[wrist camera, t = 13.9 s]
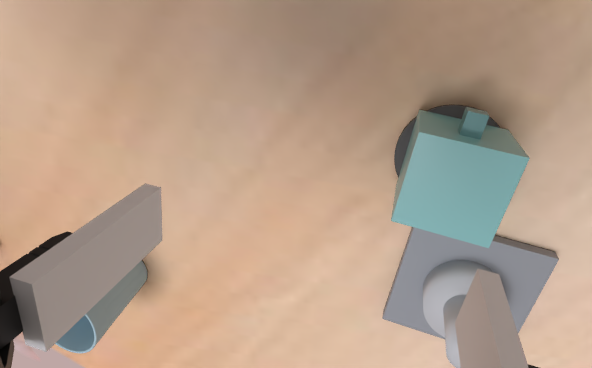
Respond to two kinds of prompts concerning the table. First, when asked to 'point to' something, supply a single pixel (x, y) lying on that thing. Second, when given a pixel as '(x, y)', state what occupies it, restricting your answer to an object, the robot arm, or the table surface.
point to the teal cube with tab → (458, 176)
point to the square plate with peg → (461, 281)
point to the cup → (103, 313)
